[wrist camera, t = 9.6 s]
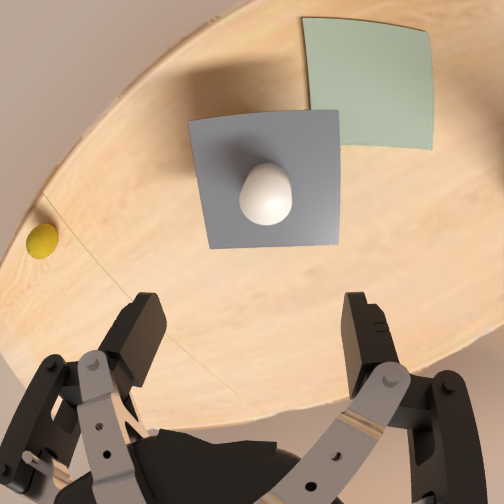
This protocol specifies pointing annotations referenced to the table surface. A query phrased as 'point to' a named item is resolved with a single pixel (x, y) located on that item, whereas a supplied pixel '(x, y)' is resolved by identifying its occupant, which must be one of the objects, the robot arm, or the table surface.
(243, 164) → the lid
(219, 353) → the table surface
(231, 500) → the robot arm
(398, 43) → the mat
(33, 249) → the lemon
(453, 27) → the table surface
